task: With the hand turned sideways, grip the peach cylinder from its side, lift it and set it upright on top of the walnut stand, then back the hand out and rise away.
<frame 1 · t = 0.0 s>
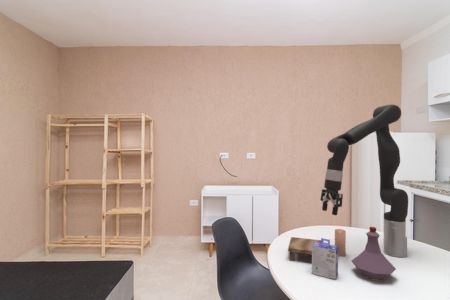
hand: (329, 212, 121), 22 cm above the table, tool pointing down, fingers open, 8 cm apart
ink cartridge box: (325, 274, 106), on the table
peach cylinder: (340, 254, 126), on the table
flask: (372, 275, 106), on the table
walnut stand: (306, 256, 124), on the table
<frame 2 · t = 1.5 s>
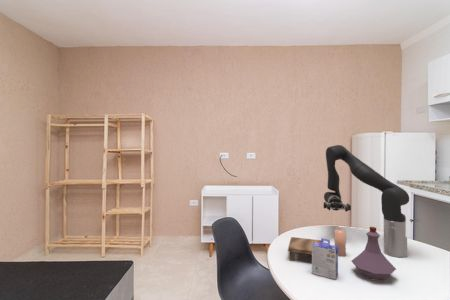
hand: (338, 209, 137), 20 cm above the table, tool horizontal, fingers open, 8 cm apart
nothing on the table moved.
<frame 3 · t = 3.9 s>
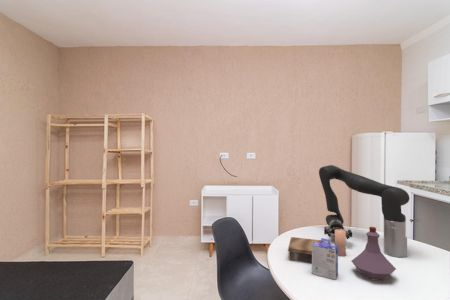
hand: (338, 236, 134), 7 cm above the table, tool horizontal, fingers open, 8 cm apart
nothing on the table moved.
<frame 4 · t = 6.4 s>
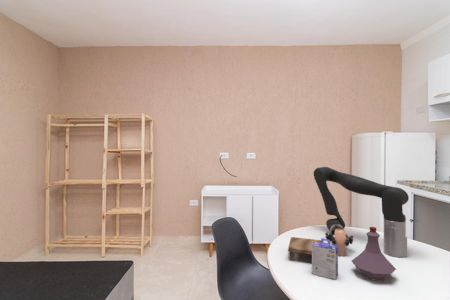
hand: (340, 243, 124), 7 cm above the table, tool horizontal, fingers closed on peach cylinder, 5 cm apart
peach cylinder: (340, 254, 126), on the table, touching gripper
everything else where it was.
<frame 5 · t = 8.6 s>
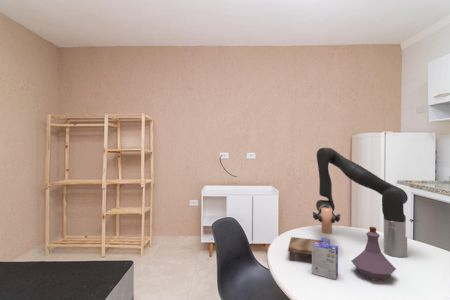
hand: (326, 220, 124), 18 cm above the table, tool horizontal, fingers closed on peach cylinder, 5 cm apart
peach cylinder: (326, 232, 126), point 11 cm above the table, touching gripper
everything else where it was.
when the fingers open (13 cm above the table, at t = 10.8 s): peach cylinder stays where it is, resting on walnut stand.
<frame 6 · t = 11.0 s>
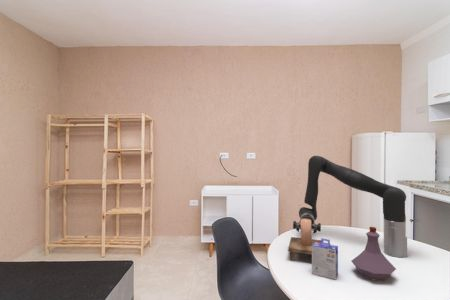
hand: (306, 230, 122), 13 cm above the table, tool horizontal, fingers open, 7 cm apart
peach cylinder: (306, 243, 124), point 6 cm above the table, touching walnut stand
everything else where it was.
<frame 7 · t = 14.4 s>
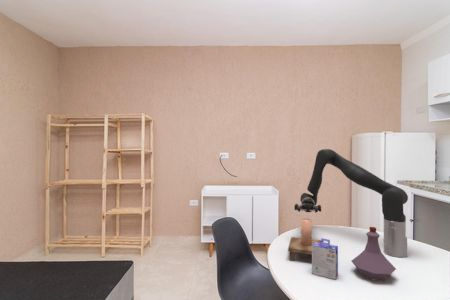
hand: (307, 210, 135), 20 cm above the table, tool horizontal, fingers open, 8 cm apart
nothing on the table moved.
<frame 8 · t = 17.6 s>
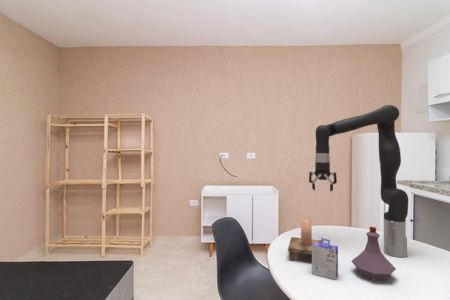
hand: (322, 190, 138), 30 cm above the table, tool pointing down, fingers open, 8 cm apart
nothing on the table moved.
at the end: peach cylinder inside the target area on the walnut stand (0.1 cm from its centre), point 6.0 cm above the walnut stand's base; peach cylinder tilted 0°; the gripper is holding nothing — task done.
